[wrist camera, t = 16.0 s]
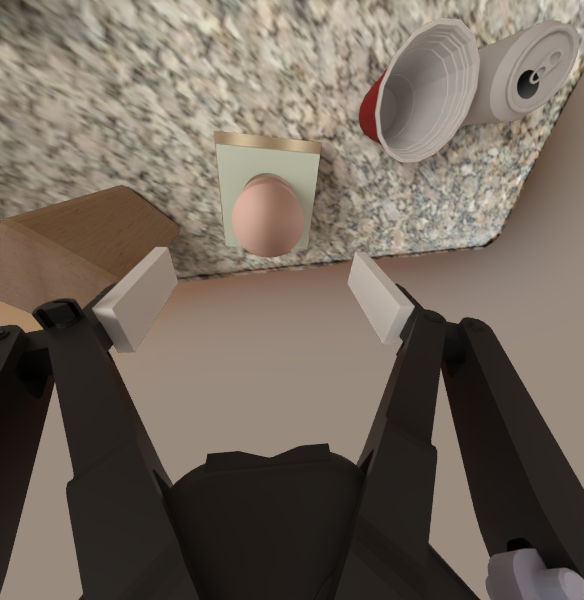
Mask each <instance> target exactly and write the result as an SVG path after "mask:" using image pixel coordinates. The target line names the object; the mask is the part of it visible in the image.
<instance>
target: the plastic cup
mask: <svg viewBox="0 0 584 600" xmlns="http://www.w3.org/2000/svg"><path fill="white" fill-rule="evenodd" d="M479 66H480V57H479V52H478V48H477V43H476V39H475V35H474V34H473V33H472V32H471V31H470V30H469V29H468V28H467V26H466V25H465V24H464V23H463V22H462V21H461V20H459V19H448V18H437V19H436V20H434V21H432V22H430V23H428V24H426V25H424V26H423V27H421V28H419V29H417V30H415V31H414V33H413V34H412V35H411V36H410V37H409V38H408V40H407V41H406V42H405V43H404V44H403V46H402V47H401V48H400V49H399V50H398V51H397V53H396V54H395V55H394V56H393V58H392V60H391V62H390V65H389V67H388V68H387V70H386V71H385V72H384V74H383V75H382V76H381V77H380V78H379V80H378V81H377V82H376V83H375V84H374V85H373V86H372V88H371V89H370V91H369V92H368V93H367V94H366V96H365V98H364V100H363V102H362V104H361V107H360V113H359V122H360V127H361V129H362V130H363V132H364V134H365V135H367V136H368V137H369V138H371V139H373V140H374V141H376V142H378V143H379V144H381V145H382V146H383V148H384V149H385V151H386V153H387V154H388V155H390V156H392V157H393V158H395V159H397V160H398V161H400V162H419V161H421V160H423V159H425V158H427V157H429V156H431V155H434V154H435V153H436V152H438V151H439V150H440V149H441V148H442V147H443V146H444V145H445V144H446V143H447V142H448V141H449V140H450V139H451V138H452V137H453V136H454V134H455V133H456V131H457V130H458V128H459V127H460V125H461V124H462V122H463V120H464V119H465V117H466V116H467V114H468V111H469V108H470V106H471V103H472V100H473V98H474V95H475V92H476V90H477V83H478V75H479Z"/></svg>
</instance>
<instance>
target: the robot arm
mask: <svg viewBox="0 0 584 600" xmlns="http://www.w3.org/2000/svg"><path fill="white" fill-rule="evenodd" d="M177 283H178V280H177V277H176V273H175V270H174V266H173V263H172V259H171V255H170V252H169V248H168V247H155V248H154V249H153V250H152V251H151V252H150V253H149V254H148V255H147V256H146V257H145V258H144V259H143V260H142V261H141V262H140V263H139V264H138V265H137V266H136V267H134V268H133V269H132V270H131V271H130V272H129V273H128V274H127V275H126V276H125V277H124V278H123V279H122V280H121V281H120V282H119V283H114V284H112V285H110V286H108V287H106V288H105V289H104V290H103V291H102V292H100V293H99V295H97V296H96V297H95V298H94V299H93V300H92V301H91V302H90V303H88V304H87V305H86V306H85V307H84V308H83V309H81V307H80V306H79V304H78V303H77V301H76V300H75V299H71V298H61V299H56V300H52V301H49V302H47V303H44V304H42V305H40V306H38V307H37V308H36V309H35V310H33V312H32V315H33V317H34V318H35V319H36V320H37V322H39V324H40V325H41V326H42V327H43V329H44V330H39V331H33V332H28V333H25V332H24V331H23V330H22V329H21V328H20V327H19V326H17V325H7V326H1V327H0V592H1V589H2V586H3V583H4V579H5V576H6V573H7V569H8V565H9V561H10V557H11V553H12V549H13V545H14V541H15V537H16V533H17V529H18V525H19V522H20V518H21V514H22V509H23V505H24V502H25V498H26V494H27V490H28V486H29V482H30V478H31V474H32V470H33V466H34V462H35V458H36V454H37V450H38V446H39V442H40V439H41V435H42V430H43V427H44V422H45V419H46V415H47V411H48V407H49V403H50V399H51V395H52V391H53V387H54V383H55V384H56V388H57V393H58V398H59V403H60V408H61V413H62V418H63V423H64V428H65V432H66V437H67V442H68V447H69V452H70V457H71V462H72V467H73V472H74V477H73V479H72V480H71V481H69V482H68V484H67V487H66V494H67V502H68V508H69V514H70V520H71V525H72V531H73V537H74V543H75V548H76V554H77V560H78V566H79V572H80V578H81V583H82V589H83V595H82V596H81V597H80V599H79V600H480V599H479V598H478V597H477V596H476V595H475V594H474V592H473V591H472V590H471V589H470V588H469V587H468V586H467V585H466V584H465V582H464V581H463V580H462V579H461V578H460V577H459V576H458V575H457V574H456V573H455V572H454V570H453V569H452V568H451V567H450V566H449V565H448V564H447V563H446V562H445V561H444V559H443V558H442V557H441V556H440V555H439V554H438V553H437V552H436V551H435V550H434V548H432V546H431V545H430V544H429V543H428V541H429V532H430V522H431V513H432V503H433V493H434V483H435V474H436V464H437V450H436V447H435V446H433V445H432V444H431V437H432V430H433V422H434V415H435V407H436V399H437V392H438V384H439V377H440V369H441V370H442V374H443V378H444V383H445V387H446V391H447V396H448V400H449V404H450V409H451V413H452V417H453V421H454V426H455V430H456V434H457V438H458V442H459V447H460V451H461V455H462V460H463V464H464V468H465V472H466V477H467V481H468V485H469V490H470V494H471V498H472V502H473V507H474V511H475V514H476V517H477V521H478V525H479V528H480V532H481V534H482V537H483V540H484V542H485V545H486V548H487V551H488V553H489V556H490V560H489V563H488V577H487V579H486V589H487V592H488V594H489V597H490V599H491V600H584V489H583V487H582V486H581V484H580V482H579V480H578V478H577V477H576V475H575V473H574V472H573V470H572V468H571V466H570V465H569V463H568V461H567V459H566V457H565V456H564V454H563V452H562V450H561V449H560V447H559V445H558V443H557V442H556V440H555V438H554V437H553V435H552V434H551V431H550V430H549V428H548V426H547V424H546V423H545V421H544V419H543V417H542V416H541V414H540V412H539V410H538V409H537V407H536V405H535V403H534V402H533V400H532V398H531V396H530V395H529V393H528V391H527V390H526V388H525V386H524V384H523V383H522V381H521V379H520V378H519V376H518V374H517V372H516V370H515V369H514V367H513V365H512V363H511V362H510V360H509V358H508V356H507V355H506V353H505V351H504V350H503V348H502V346H501V344H500V342H499V341H498V339H497V337H496V336H495V334H494V332H493V330H492V329H491V328H490V327H489V326H488V325H487V324H485V323H484V322H483V321H480V320H478V319H474V318H468V317H466V318H463V319H462V320H461V322H460V323H459V324H456V323H451V322H446V320H445V318H444V317H443V316H442V315H440V314H439V313H437V312H434V311H431V310H425V309H424V308H423V307H422V306H421V305H420V304H419V303H418V302H417V301H416V300H415V299H414V298H412V296H411V295H410V294H409V293H408V292H407V291H406V290H405V288H403V287H401V286H400V285H398V284H394V283H393V282H392V281H391V280H390V279H389V278H388V276H387V275H386V274H385V273H384V272H383V271H382V270H381V269H380V268H379V267H378V265H377V264H376V263H375V262H374V261H373V260H372V259H371V258H370V257H369V256H368V254H367V253H366V252H355V256H354V260H353V264H352V267H351V272H350V275H349V279H348V285H349V287H350V289H351V290H352V292H353V294H354V295H355V297H356V299H357V301H358V302H359V304H360V306H361V308H362V309H363V311H364V313H365V314H366V316H367V318H368V320H369V321H370V323H371V325H372V326H373V328H374V330H375V332H376V333H377V335H378V337H379V338H380V340H381V342H382V344H383V345H384V344H396V342H397V340H398V338H399V336H400V338H401V339H402V341H403V343H402V345H401V347H400V348H399V350H398V352H397V354H396V355H397V358H396V361H395V363H394V367H393V369H392V372H391V374H390V377H389V380H388V383H387V386H386V388H385V391H384V394H383V397H382V399H381V402H380V405H379V408H378V411H377V413H376V416H375V419H374V422H373V425H372V427H371V430H370V433H369V435H368V438H367V441H366V444H365V446H364V449H363V452H362V454H361V456H360V458H359V460H358V462H357V465H355V464H354V463H353V462H351V461H350V460H348V459H346V458H345V457H343V456H341V455H338V454H335V453H332V452H330V450H329V445H328V443H327V444H316V445H304V446H299V447H296V448H294V449H291V450H289V451H286V452H284V453H281V454H279V455H276V456H274V457H270V458H268V457H263V456H258V455H254V454H249V453H244V452H240V451H235V452H224V453H212V454H207V459H206V463H205V464H203V465H200V466H199V467H197V468H195V469H193V470H192V471H190V472H189V473H187V474H186V475H184V476H183V477H182V478H181V479H180V480H178V481H177V482H176V483H175V484H174V485H173V484H172V482H171V480H170V478H169V477H168V475H167V474H166V472H165V470H164V468H163V466H162V464H161V462H160V459H159V457H158V456H157V453H156V451H155V449H154V447H153V444H152V442H151V440H150V438H149V436H148V434H147V431H146V429H145V427H144V425H143V423H142V421H141V418H140V416H139V414H138V412H137V410H136V408H135V406H134V403H133V401H132V399H131V397H130V395H129V393H128V391H127V388H126V386H125V384H124V382H123V380H122V378H121V376H120V373H119V371H118V369H117V367H116V365H115V363H114V360H113V358H112V356H111V354H110V353H109V351H108V350H109V349H110V348H111V346H112V345H114V347H115V348H116V350H117V352H118V353H121V352H135V351H136V350H137V348H138V346H139V345H140V343H141V341H142V340H143V338H144V337H145V335H146V333H147V332H148V330H149V328H150V326H151V325H152V324H153V322H154V320H155V319H156V317H157V316H158V314H159V312H160V311H161V309H162V307H163V306H164V304H165V303H166V301H167V299H168V298H169V296H170V294H171V293H172V291H173V290H174V288H175V286H176V285H177Z"/></svg>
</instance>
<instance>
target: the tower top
mask: <svg viewBox="0 0 584 600" xmlns="http://www.w3.org/2000/svg"><path fill="white" fill-rule="evenodd" d="M216 152H217V162H218V172H219V182H220V192H221V202H222V212H223V222H224V232H225V243H226V246H235V247H243V246H242V245H241V243H240V242H239V241H238V239H237V238H236V236H235V233H234V230H233V226H232V212H233V208H234V206H235V203H236V201H237V200H238V198H239V196H240V194H241V192H242V190H243V189H244V187H245V185H246V184H247V182H248V181H249V180H250V179H251V178H253V177H254V176H256V175H258V174H262V173H272V174H276V175H278V176H280V177H281V178H283V179H284V180H285V181H286V182H287V183H288V184H289V186H290V187H291V189H292V191H293V193H294V195H295V197H296V198H297V200H298V202H299V204H300V206H301V209H302V211H303V215H304V229H303V233H302V236H301V238H300V240H299V241H298V243H297V244H296V246H295V247H294V248H293V249H304V250H307V249H308V242H309V234H310V227H311V219H312V212H313V204H314V196H315V189H316V181H317V174H318V166H319V159H320V154H316V153H310V152H300V151H290V150H280V149H270V148H260V147H250V146H240V145H230V144H216Z"/></svg>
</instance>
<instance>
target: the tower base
mask: <svg viewBox="0 0 584 600" xmlns="http://www.w3.org/2000/svg"><path fill="white" fill-rule="evenodd" d="M214 137H215V147H216V144H230V145H240V146H250V147H260V148H270V149H280V150H290V151H300V152H310V153H316V154H320V150H321V143H320V142H311V141H302V140H293V139H283V138H274V137H265V136H256V135H247V134H238V133H229V132H220V131H214ZM216 157H217V152H216ZM217 167H218V162H217ZM218 177H219V172H218ZM219 188H220V182H219ZM220 198H221V192H220ZM221 208H222V202H221ZM222 218H223V212H222ZM223 228H224V222H223ZM224 238H225V232H224Z"/></svg>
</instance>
